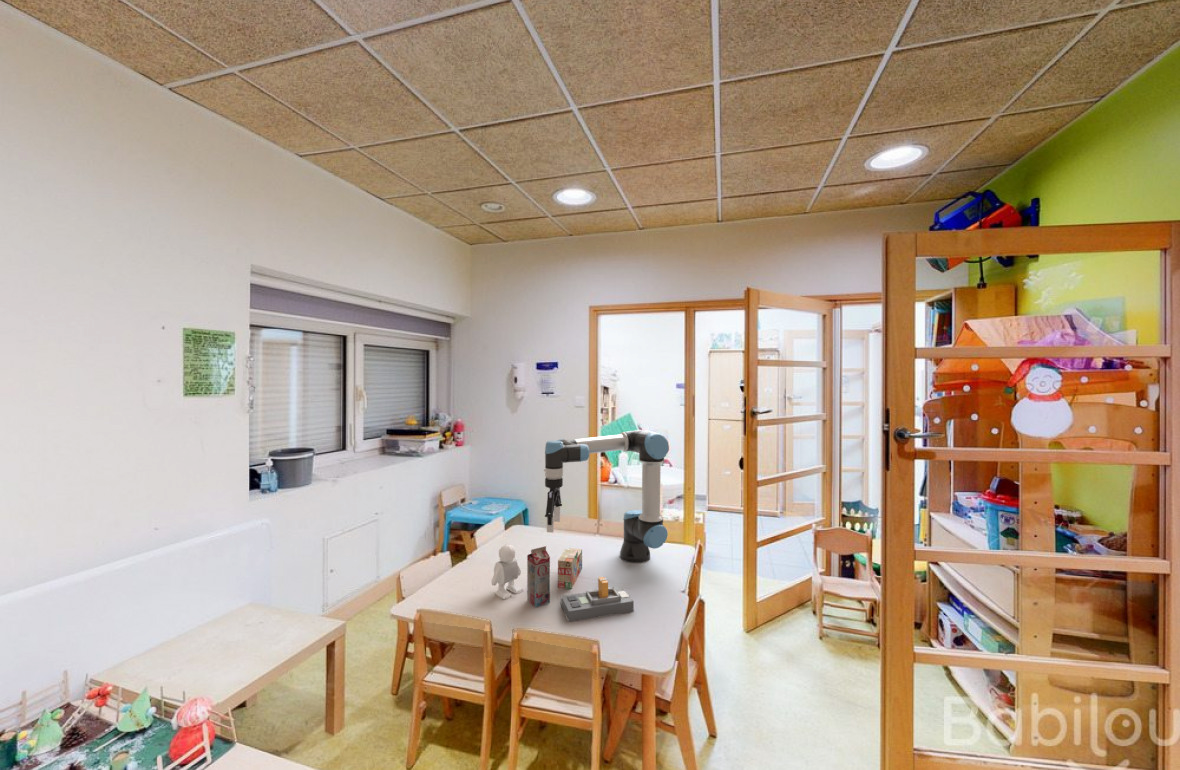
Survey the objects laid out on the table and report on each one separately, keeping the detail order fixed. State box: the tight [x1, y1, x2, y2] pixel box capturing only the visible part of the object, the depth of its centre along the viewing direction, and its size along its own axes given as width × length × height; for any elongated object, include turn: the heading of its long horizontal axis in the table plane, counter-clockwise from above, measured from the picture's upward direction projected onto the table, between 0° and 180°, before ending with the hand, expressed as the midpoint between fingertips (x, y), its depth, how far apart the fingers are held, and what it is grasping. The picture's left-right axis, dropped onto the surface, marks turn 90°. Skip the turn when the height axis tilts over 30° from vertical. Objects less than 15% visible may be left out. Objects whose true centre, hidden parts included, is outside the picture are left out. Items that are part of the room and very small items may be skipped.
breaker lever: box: [597, 576, 609, 598], centre depth 179 cm, size 2×5×7 cm, turn 17°
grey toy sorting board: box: [560, 587, 635, 623], centre depth 179 cm, size 26×12×6 cm, turn 107°
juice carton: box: [526, 545, 551, 608], centre depth 184 cm, size 7×7×22 cm
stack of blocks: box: [557, 547, 583, 590], centre depth 206 cm, size 21×6×12 cm, turn 168°
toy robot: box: [491, 543, 524, 600], centre depth 192 cm, size 14×9×20 cm, turn 137°
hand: (553, 526), depth 195 cm, fingers open, 13 cm apart
